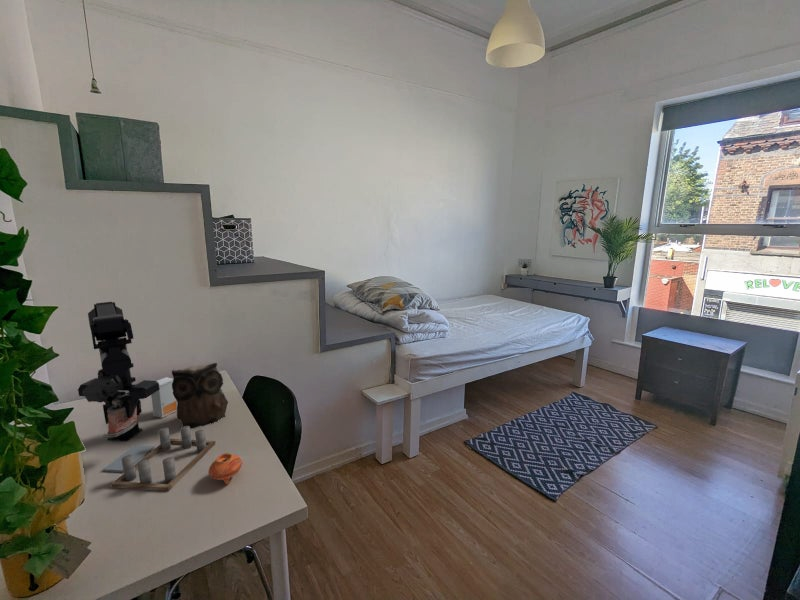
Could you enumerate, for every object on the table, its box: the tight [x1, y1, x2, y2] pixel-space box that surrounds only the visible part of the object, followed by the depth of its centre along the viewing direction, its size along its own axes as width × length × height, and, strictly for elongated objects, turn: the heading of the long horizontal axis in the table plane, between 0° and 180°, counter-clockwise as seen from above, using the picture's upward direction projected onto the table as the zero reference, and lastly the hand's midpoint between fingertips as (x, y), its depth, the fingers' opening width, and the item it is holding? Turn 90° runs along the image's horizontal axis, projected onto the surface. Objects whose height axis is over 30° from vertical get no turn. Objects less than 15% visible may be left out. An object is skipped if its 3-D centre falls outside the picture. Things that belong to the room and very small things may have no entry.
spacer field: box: [110, 426, 216, 492], centre depth 100 cm, size 15×20×6 cm
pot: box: [208, 453, 243, 486], centre depth 95 cm, size 8×8×7 cm
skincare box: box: [150, 376, 178, 419], centre depth 126 cm, size 6×4×12 cm
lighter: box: [107, 394, 138, 438], centre depth 100 cm, size 8×3×10 cm, turn 172°
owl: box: [171, 362, 229, 430], centre depth 121 cm, size 13×13×20 cm
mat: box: [102, 444, 156, 473], centre depth 102 cm, size 6×11×1 cm, turn 175°
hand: (124, 417), depth 100 cm, fingers closed on lighter, 3 cm apart
